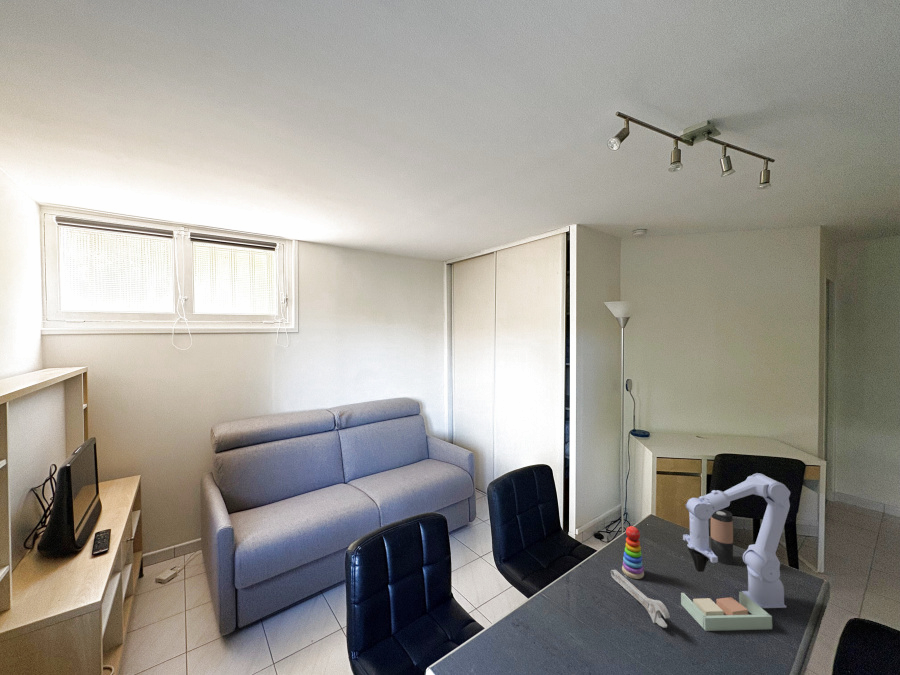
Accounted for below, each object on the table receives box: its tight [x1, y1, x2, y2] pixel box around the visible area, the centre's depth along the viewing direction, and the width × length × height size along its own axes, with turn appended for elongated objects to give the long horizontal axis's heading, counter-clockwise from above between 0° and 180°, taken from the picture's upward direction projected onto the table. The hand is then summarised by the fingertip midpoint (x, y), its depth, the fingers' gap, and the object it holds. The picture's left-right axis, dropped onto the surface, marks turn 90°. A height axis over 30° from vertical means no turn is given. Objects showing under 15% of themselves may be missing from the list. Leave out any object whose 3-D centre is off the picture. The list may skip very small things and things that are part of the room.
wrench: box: [610, 569, 671, 629], centre depth 126 cm, size 8×2×30 cm
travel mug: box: [710, 508, 734, 565], centre depth 151 cm, size 8×8×20 cm
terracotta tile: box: [715, 596, 749, 615], centre depth 121 cm, size 6×6×3 cm
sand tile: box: [692, 597, 725, 616], centre depth 121 cm, size 6×6×3 cm
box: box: [680, 591, 773, 632], centre depth 119 cm, size 22×12×4 cm, turn 91°
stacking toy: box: [621, 525, 645, 580], centre depth 142 cm, size 8×8×19 cm
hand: (699, 570), depth 129 cm, fingers closed
